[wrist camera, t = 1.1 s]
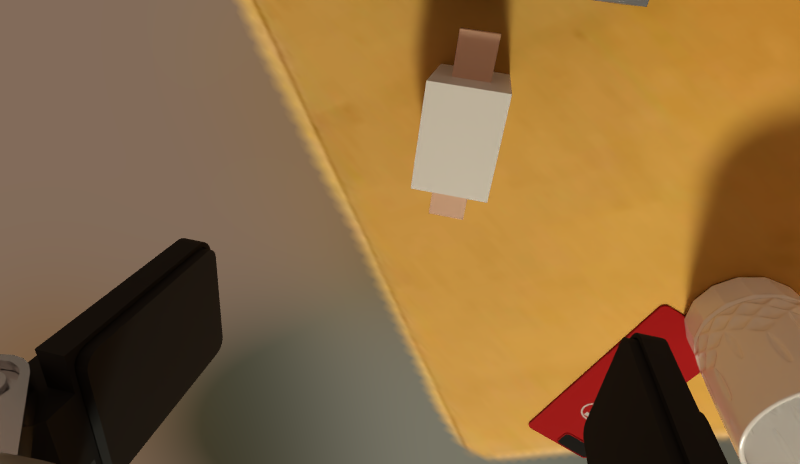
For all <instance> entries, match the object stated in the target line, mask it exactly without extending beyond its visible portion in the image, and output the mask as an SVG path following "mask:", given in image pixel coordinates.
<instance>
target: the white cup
mask: <svg viewBox="0 0 800 464" xmlns="http://www.w3.org/2000/svg"><path fill="white" fill-rule="evenodd" d="M684 323H685V331H686V338H687V340H688V342H689V345H690V347H691V349H692V351H693V353H694V355H695V358H696V361H697V365H698V367H699V370H700V372H701V375H702V377H703V379H704V381H705V384H706V387H707V389H708V391H709V394H710V396H711V398H712V401H713V403H714V405H715V407H716V409H717V411H718V414H719V416H720V418H721V420H722V422H723V424H724V427H725V429H726V431H727V433H728V435H729V438H730V440H731V442H732V444H733V446H734V448H735V451H736V453H737V455H738V458H739V460H740V462H741V464H800V296H799V295H798V294H797V293H796V292H795V291H794V290H792V289H791V288H790V287H789V286H786V285H784V284H781V283H779V282H776V281H774V280H771V279H769V278H766V277H737V278H734V279H731V280H728V281H725V282H722V283H719V284H716V285H713V286H711V287H710V288H709V289H708V290H706V291H705V292H704V293H703V294H701V295H700V296H699V297H697V298H696V299H695V300H694V301H693V302H692V304H691V306H690V308H689V310H688V312H687V314H686V316H685V319H684Z"/></svg>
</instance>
